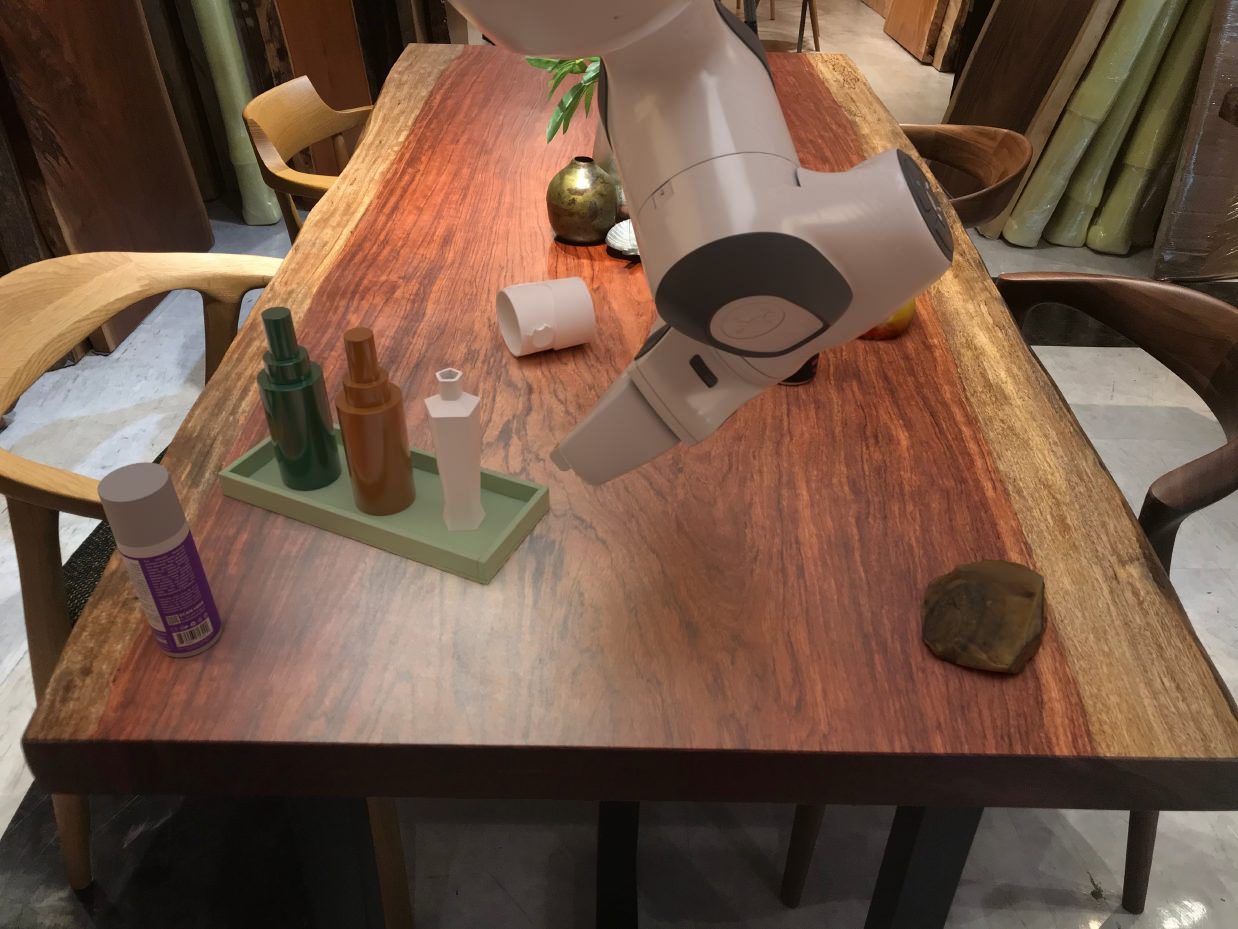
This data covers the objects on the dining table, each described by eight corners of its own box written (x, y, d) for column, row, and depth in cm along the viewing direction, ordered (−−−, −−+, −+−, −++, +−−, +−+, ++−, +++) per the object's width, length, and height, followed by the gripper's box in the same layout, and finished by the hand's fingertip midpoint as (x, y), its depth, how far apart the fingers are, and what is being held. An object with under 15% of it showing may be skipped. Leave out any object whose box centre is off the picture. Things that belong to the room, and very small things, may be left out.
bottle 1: (316, 497, 83) (279, 333, 73) (268, 481, 84) (225, 319, 74) (354, 465, 87) (324, 305, 77) (308, 451, 89) (272, 293, 79)
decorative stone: (1040, 695, 67) (1055, 663, 64) (911, 656, 69) (922, 624, 67) (1043, 602, 74) (1056, 571, 72) (927, 570, 77) (937, 540, 75)
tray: (549, 508, 83) (549, 486, 82) (486, 585, 75) (484, 563, 73) (305, 433, 92) (300, 412, 91) (223, 494, 84) (217, 473, 82)
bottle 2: (392, 522, 80) (365, 356, 70) (341, 506, 82) (307, 341, 72) (428, 488, 84) (406, 326, 74) (378, 473, 86) (351, 312, 76)
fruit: (833, 293, 121) (861, 242, 116) (903, 329, 119) (934, 279, 114) (812, 326, 112) (841, 272, 107) (887, 365, 111) (920, 313, 106)
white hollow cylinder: (597, 356, 106) (598, 295, 102) (523, 371, 103) (520, 308, 98) (561, 314, 115) (560, 255, 110) (491, 327, 112) (487, 267, 107)
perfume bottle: (426, 524, 80) (406, 379, 71) (458, 498, 83) (443, 356, 74) (466, 542, 78) (451, 396, 69) (497, 515, 81) (487, 372, 72)
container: (230, 612, 71) (180, 460, 63) (212, 657, 68) (156, 502, 59) (170, 614, 71) (111, 461, 62) (148, 658, 67) (82, 503, 59)
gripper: (740, 247, 66) (617, 336, 75) (631, 370, 51) (492, 465, 60) (790, 313, 68) (663, 394, 76) (698, 454, 52) (553, 534, 61)
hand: (587, 426), depth 68 cm, fingers open, 8 cm apart
